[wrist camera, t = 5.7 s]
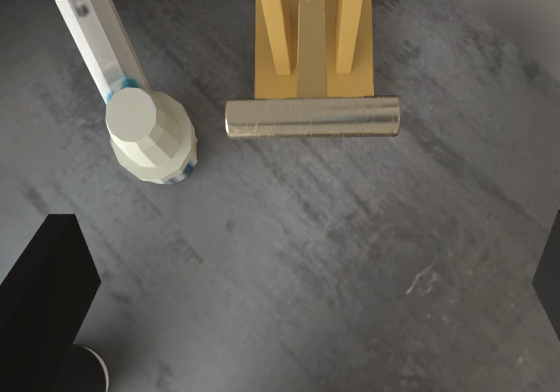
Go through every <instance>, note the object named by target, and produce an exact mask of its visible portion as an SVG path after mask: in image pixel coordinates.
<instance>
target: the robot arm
mask: <svg viewBox="0 0 560 392" xmlns="http://www.w3.org/2000/svg"><path fill="white" fill-rule="evenodd" d="M100 284H101V280H100V277H99V275H98V272H97V269H96V267H95V264H94V262H93V259H92V257H91V254H90V252H89V249H88V246H87V244H86V241H85V239H84V236H83V234H82V231H81V229H80V226H79V223H78V221H77V218H76V216H75V214H49V215H48V216H47V218H46V219H45V220H44V222H43V223H42V225H41V226H40V228H39V229H38V231H37V232H36V234H35V235H34V237H33V238H32V240H31V241H30V242H29V244H28V245H27V247H26V248H25V250H24V251H23V253H22V254H21V256H20V257H19V259H18V260H17V261H16V263H15V264H14V266H13V267H12V269H11V270H10V272H9V273H8V275H7V276H6V278H5V279H4V281H3V282H2V283H1V285H0V392H50V391H51V389H52V387H53V385H54V383H55V381H56V379H57V376H58V374H59V372H60V370H61V368H62V366H63V363H64V361H65V359H66V357H67V355H68V353H69V351H70V348H71V346H72V344H73V342H74V340H75V338H76V335H77V333H78V331H79V329H80V327H81V325H82V323H83V320H84V318H85V316H86V314H87V312H88V310H89V308H90V305H91V303H92V301H93V299H94V297H95V295H96V292H97V290H98V288H99V286H100ZM532 285H533V287H534V289H535V291H536V293H537V295H538V297H539V299H540V301H541V303H542V306H543V308H544V310H545V312H546V314H547V316H548V318H549V320H550V322H551V324H552V326H553V328H554V330H555V332H556V335H557V337H558V339H559V341H560V210H558V213H557V216H556V218H555V221H554V224H553V226H552V229H551V232H550V235H549V237H548V240H547V243H546V245H545V248H544V251H543V254H542V256H541V259H540V262H539V264H538V267H537V270H536V273H535V275H534V278H533V281H532Z"/></svg>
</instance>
